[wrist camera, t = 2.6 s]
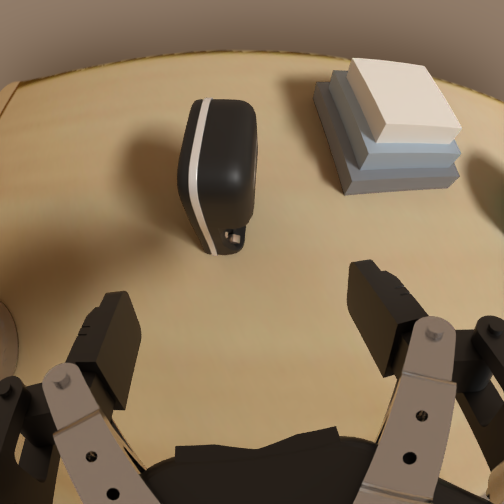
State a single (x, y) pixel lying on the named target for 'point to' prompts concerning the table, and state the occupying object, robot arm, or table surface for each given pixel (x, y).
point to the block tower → (388, 128)
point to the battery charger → (219, 172)
